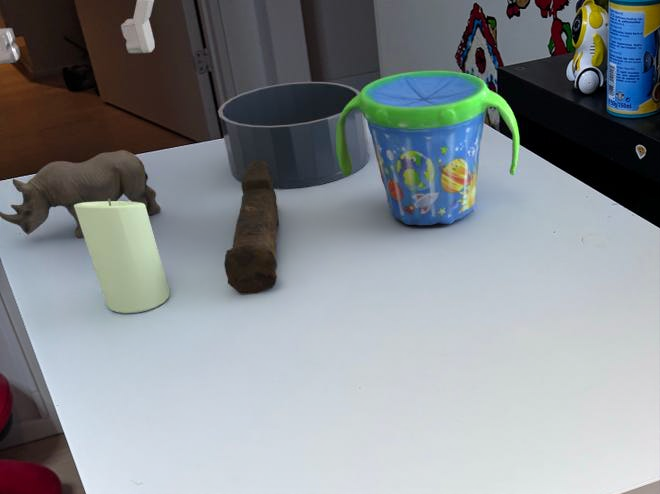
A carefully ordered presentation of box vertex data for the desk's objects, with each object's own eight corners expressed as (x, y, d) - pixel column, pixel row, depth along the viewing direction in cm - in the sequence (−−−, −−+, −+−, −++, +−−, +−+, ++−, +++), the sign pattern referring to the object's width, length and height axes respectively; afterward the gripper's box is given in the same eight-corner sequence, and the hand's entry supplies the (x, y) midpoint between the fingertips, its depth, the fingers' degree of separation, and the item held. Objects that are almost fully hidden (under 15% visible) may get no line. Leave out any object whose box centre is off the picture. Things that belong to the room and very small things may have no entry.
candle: (125, 284, 83) (93, 181, 78) (180, 287, 82) (152, 182, 77) (94, 312, 80) (59, 206, 74) (152, 315, 79) (120, 208, 73)
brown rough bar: (281, 293, 80) (269, 235, 77) (230, 297, 80) (217, 238, 77) (298, 204, 94) (289, 151, 91) (255, 207, 94) (245, 154, 91)
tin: (219, 192, 97) (205, 131, 94) (244, 143, 107) (232, 86, 104) (362, 184, 97) (354, 122, 93) (374, 135, 107) (367, 78, 103)
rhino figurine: (7, 238, 92) (-19, 168, 88) (158, 206, 96) (140, 138, 92) (12, 254, 89) (-15, 183, 85) (167, 220, 93) (148, 151, 89)
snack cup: (531, 192, 93) (528, 68, 86) (507, 240, 85) (501, 109, 78) (368, 188, 96) (352, 68, 89) (331, 233, 88) (311, 107, 81)
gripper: (179, -226, 62) (233, 33, 71) (-147, -197, 63) (-51, 54, 72) (155, -217, 57) (215, 58, 67) (-197, -186, 58) (-88, 80, 68)
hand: (74, 56), depth 69 cm, fingers open, 8 cm apart
